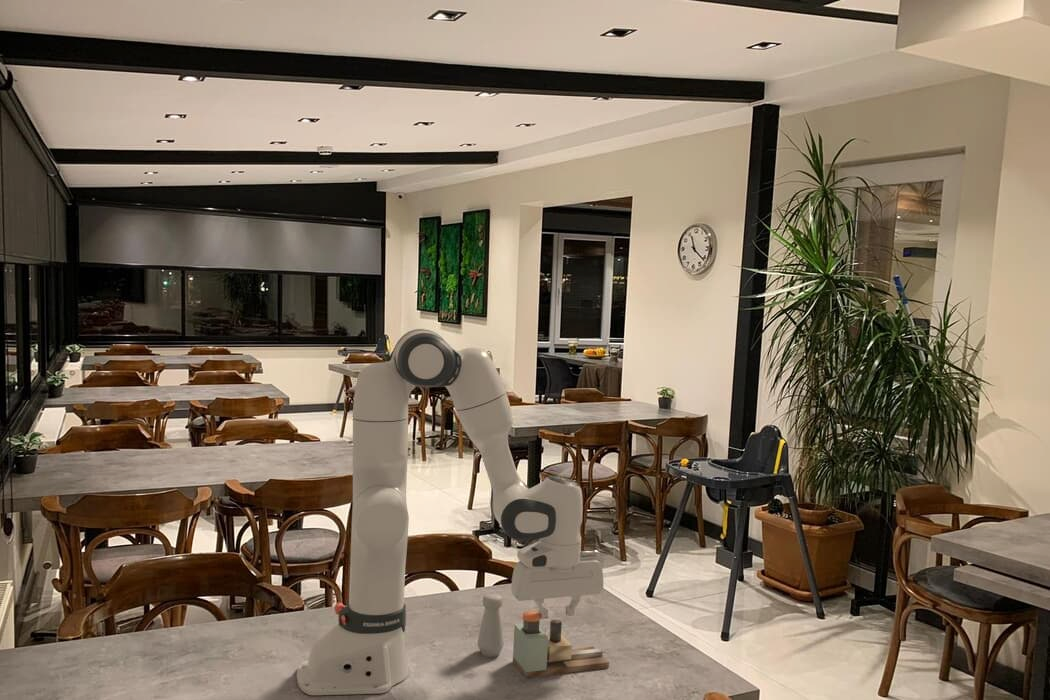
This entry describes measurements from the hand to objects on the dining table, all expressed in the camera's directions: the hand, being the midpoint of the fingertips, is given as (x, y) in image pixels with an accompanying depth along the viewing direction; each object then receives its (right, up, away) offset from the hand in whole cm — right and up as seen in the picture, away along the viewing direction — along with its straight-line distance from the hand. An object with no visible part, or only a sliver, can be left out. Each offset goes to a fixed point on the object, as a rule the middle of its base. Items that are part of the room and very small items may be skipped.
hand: (556, 616), depth 175 cm
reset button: (-6, -4, -2) cm, 7 cm away
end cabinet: (-6, -9, -1) cm, 11 cm away
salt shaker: (-14, -10, +5) cm, 18 cm away
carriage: (0, -8, 0) cm, 8 cm away
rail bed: (+1, -11, +1) cm, 11 cm away
